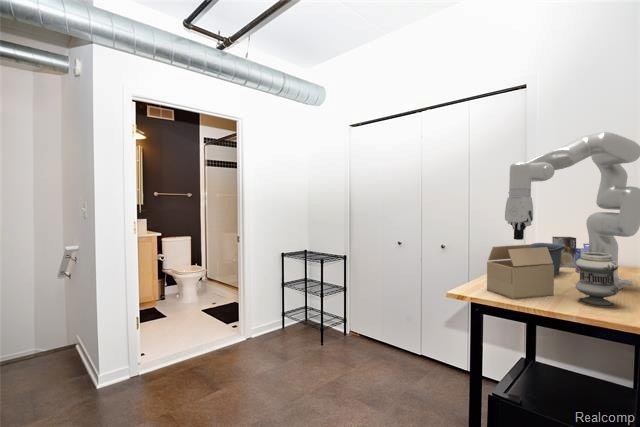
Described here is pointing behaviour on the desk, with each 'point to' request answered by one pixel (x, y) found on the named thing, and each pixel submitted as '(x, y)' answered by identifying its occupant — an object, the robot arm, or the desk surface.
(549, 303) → the desk surface
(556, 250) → the storage bin
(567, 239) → the coffee box
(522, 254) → the front flap
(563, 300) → the desk surface
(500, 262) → the carton
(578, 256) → the ink cartridge box
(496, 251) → the back flap
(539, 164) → the robot arm
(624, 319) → the desk surface
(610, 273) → the apothecary jar
